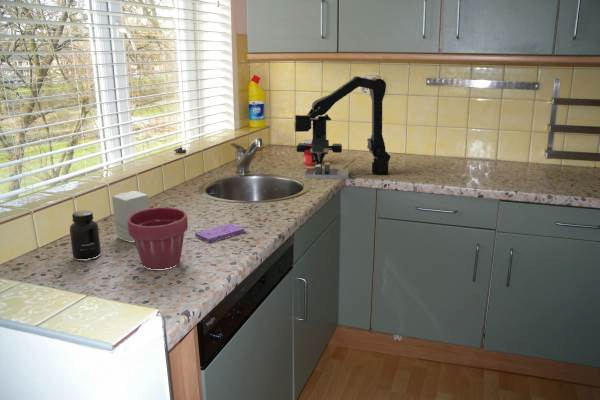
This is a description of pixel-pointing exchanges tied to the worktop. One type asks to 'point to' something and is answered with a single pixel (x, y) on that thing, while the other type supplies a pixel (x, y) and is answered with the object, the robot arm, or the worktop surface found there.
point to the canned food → (309, 155)
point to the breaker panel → (326, 173)
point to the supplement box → (127, 210)
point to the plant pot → (158, 235)
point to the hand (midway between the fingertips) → (319, 167)
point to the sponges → (219, 232)
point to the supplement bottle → (84, 235)
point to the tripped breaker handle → (327, 166)
